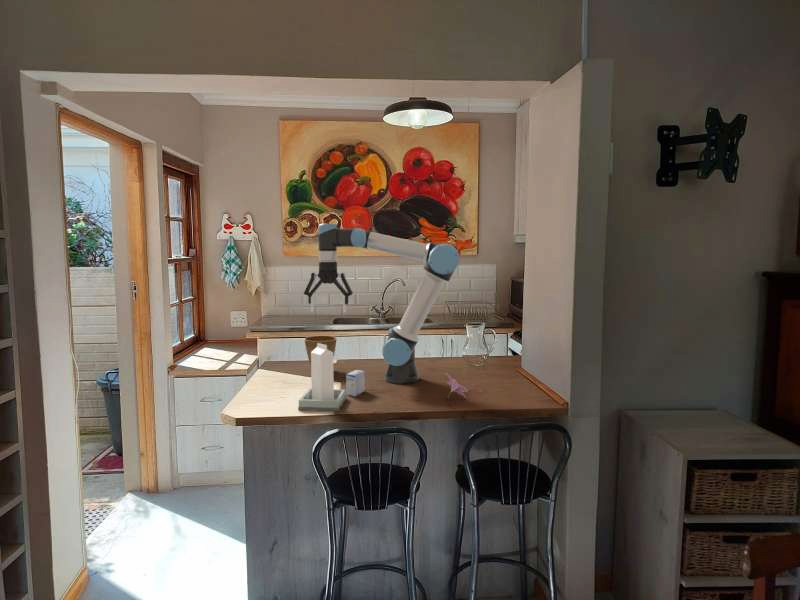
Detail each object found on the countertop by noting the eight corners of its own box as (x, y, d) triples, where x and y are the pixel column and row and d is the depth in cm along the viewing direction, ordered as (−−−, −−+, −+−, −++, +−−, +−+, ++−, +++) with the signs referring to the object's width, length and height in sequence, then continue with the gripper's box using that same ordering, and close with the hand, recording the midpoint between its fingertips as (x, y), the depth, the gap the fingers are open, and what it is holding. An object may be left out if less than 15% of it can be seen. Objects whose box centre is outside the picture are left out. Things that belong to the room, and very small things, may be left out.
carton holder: (345, 398, 200) (345, 389, 199) (338, 411, 185) (338, 401, 185) (308, 397, 201) (308, 388, 200) (298, 410, 186) (298, 400, 186)
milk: (324, 397, 197) (323, 341, 195) (334, 401, 193) (333, 343, 190) (311, 401, 193) (310, 343, 190) (321, 404, 188) (320, 346, 186)
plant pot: (340, 373, 236) (340, 339, 234) (309, 377, 231) (308, 342, 229) (332, 366, 250) (331, 334, 248) (302, 369, 244) (301, 336, 242)
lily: (467, 407, 193) (476, 383, 195) (438, 395, 193) (447, 371, 195) (460, 406, 205) (468, 384, 207) (433, 395, 205) (442, 373, 207)
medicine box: (355, 389, 211) (355, 369, 210) (365, 391, 210) (365, 370, 208) (346, 395, 204) (345, 374, 203) (355, 396, 202) (355, 375, 201)
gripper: (359, 261, 214) (359, 310, 217) (300, 260, 216) (301, 310, 219) (356, 261, 207) (356, 313, 209) (295, 261, 209) (297, 312, 211)
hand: (328, 311), depth 214 cm, fingers open, 13 cm apart
